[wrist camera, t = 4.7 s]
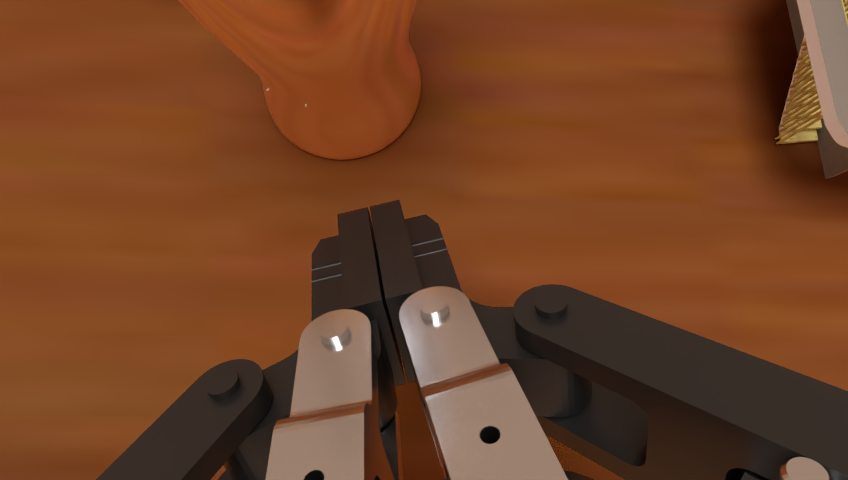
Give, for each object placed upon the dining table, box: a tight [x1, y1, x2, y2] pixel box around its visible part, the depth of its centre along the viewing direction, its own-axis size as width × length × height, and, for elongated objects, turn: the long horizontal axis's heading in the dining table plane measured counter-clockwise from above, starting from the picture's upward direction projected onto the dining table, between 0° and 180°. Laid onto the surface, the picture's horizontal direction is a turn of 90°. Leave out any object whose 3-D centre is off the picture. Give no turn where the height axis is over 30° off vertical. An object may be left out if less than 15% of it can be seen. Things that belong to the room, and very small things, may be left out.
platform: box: [775, 0, 848, 179], centre depth 20 cm, size 12×18×7 cm, turn 4°
